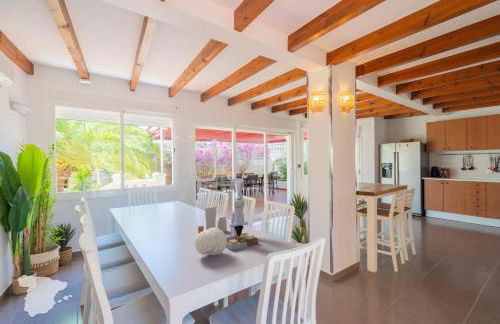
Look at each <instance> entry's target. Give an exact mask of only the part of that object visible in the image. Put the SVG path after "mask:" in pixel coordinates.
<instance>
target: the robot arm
mask: <svg viewBox="0 0 500 324" xmlns="http://www.w3.org/2000/svg"><path fill="white" fill-rule="evenodd" d="M230 183H231V186H230V187H231V190H232V191H233V192H234V201H233V204H234V205H233V208H234V211H233V212H232V213H231V217H230V218H231V220H230V223H229V225H228V227H229V228H230V233H229V236H230V237H232V236H235V235H237V236H238V237H240V235H241V234H243V229H244V228H245V227H244V226H245V225H246V226H247V225H249V221H246V220H245V215H244V214H245V213H244V207H245V201H244V198H243V193H242V192H241V191H242V190H244V187H245V179H244V178H233V177H232V178H231V182H230Z"/></svg>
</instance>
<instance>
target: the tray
mask: <svg viewBox="0 0 500 324" xmlns="http://www.w3.org/2000/svg"><path fill="white" fill-rule="evenodd" d="M226 239H227V244H226V247H225V249H228V250H229V251H231V252H235V251H240V250H244V249H246V248H248V246H247V242H245V243H239V242H238V244H235V245H231V244H229V240H233V239H235V236H228V237H227V236H226Z"/></svg>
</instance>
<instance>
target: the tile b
mask: <svg viewBox="0 0 500 324" xmlns="http://www.w3.org/2000/svg"><path fill="white" fill-rule="evenodd" d="M254 237H255V235H254V234H252V233H247V235H245V238H247V239H253V238H254Z"/></svg>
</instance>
